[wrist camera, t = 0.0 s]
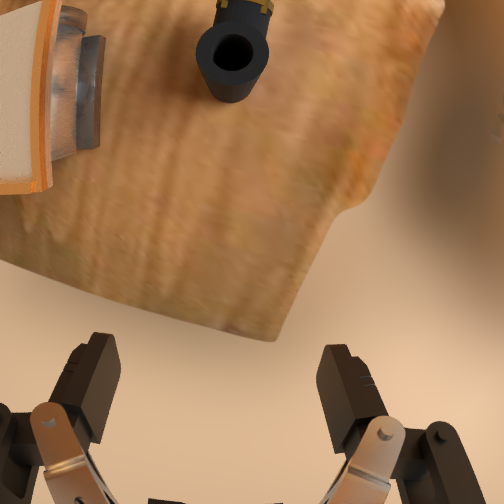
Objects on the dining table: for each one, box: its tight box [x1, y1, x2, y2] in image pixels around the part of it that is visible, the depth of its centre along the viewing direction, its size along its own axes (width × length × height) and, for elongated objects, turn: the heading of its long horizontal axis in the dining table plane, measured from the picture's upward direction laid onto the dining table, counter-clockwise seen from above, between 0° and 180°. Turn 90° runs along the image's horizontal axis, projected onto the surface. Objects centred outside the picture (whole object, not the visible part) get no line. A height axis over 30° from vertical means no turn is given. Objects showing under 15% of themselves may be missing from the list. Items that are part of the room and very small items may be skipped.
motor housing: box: [0, 0, 106, 195], centre depth 24 cm, size 18×12×14 cm, turn 175°
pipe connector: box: [196, 0, 274, 103], centre depth 24 cm, size 12×5×15 cm, turn 170°
